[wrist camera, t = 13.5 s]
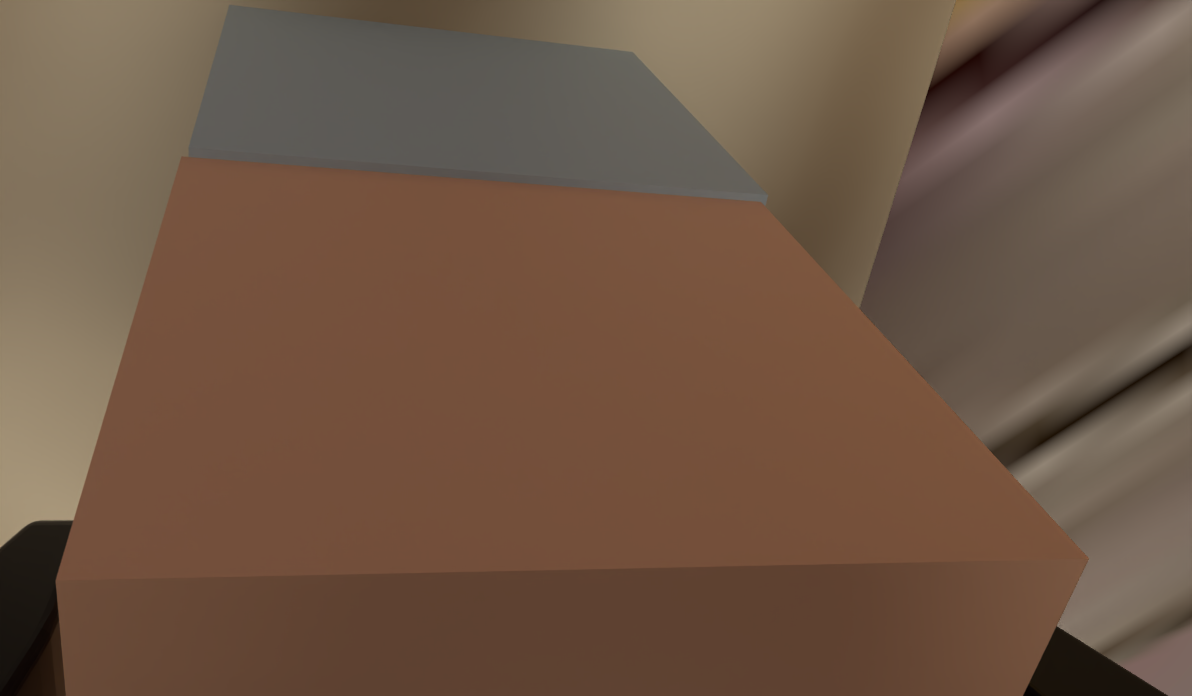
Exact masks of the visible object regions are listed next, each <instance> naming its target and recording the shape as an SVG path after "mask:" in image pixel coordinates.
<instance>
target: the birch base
mask: <svg viewBox="0 0 1192 696" xmlns="http://www.w3.org/2000/svg"><path fill="white" fill-rule="evenodd" d="M955 2H956V0H0V547H1V546H2V545H4V544H5V543H6V542H7V541H8V540H9V539H11V538H12V537H13V536H14V535H15V534H16V533H18V532H19V531H20V530H21V529H22V528H23V527H25V526H26V525H28V524H30V523H32V522H34V521H40V520H74V517H75V513H76V510H77V507H78V503H79V500H80V497H81V493H82V490H83V486H84V483H85V480H86V476H87V473H88V470H89V466H90V463H91V460H92V456H93V453H94V449H95V446H96V443H97V439H98V436H99V433H100V429H101V426H102V422H103V419H104V416H105V412H106V409H107V406H108V402H109V399H110V395H111V392H112V389H113V385H114V382H115V379H116V375H117V372H118V368H119V365H120V362H121V358H122V355H123V352H124V348H125V345H126V341H127V338H128V335H129V331H130V328H131V325H132V321H133V318H134V315H135V311H136V308H137V304H138V301H139V298H140V294H141V291H142V288H143V284H144V281H145V277H146V274H147V271H148V267H149V264H150V261H151V257H152V254H153V250H154V247H155V244H156V240H157V237H158V234H159V230H160V227H161V223H162V220H163V217H164V213H165V210H166V207H167V203H168V200H169V196H170V193H171V190H172V186H173V183H174V180H175V176H176V173H177V170H178V166H179V163H180V159H181V156H183V157H189V150H188V147H189V144H190V140H191V137H192V133H193V130H194V126H195V123H196V119H197V116H198V113H199V109H200V106H201V102H202V99H203V95H204V92H205V88H206V85H207V81H208V78H209V74H210V71H211V67H212V64H213V60H214V57H215V53H216V50H217V46H218V43H219V39H220V36H221V32H222V29H223V25H224V22H225V18H226V15H227V11H228V8H229V5H235V6H244V7H252V8H261V9H269V10H278V11H287V12H295V13H304V14H312V15H321V16H329V17H338V18H346V19H355V20H364V21H372V22H381V23H389V24H398V25H406V26H415V27H423V28H432V29H441V30H449V31H458V32H466V33H475V34H483V35H492V36H500V37H509V38H518V39H526V40H535V41H543V42H552V43H560V44H569V45H577V46H586V47H595V48H603V49H612V50H620V51H629V52H633V53H634V54H635V55H636V56H637V57H638V58H639V59H640V60H641V61H642V62H643V63H644V64H645V66H646V67H647V68H648V69H649V70H650V71H651V72H652V73H653V74H654V75H655V76H656V77H657V78H658V79H659V80H660V81H661V82H662V83H663V85H664V86H665V87H666V88H667V89H668V90H669V91H670V92H671V93H672V94H673V95H674V96H675V97H676V98H677V99H678V100H679V101H680V102H681V104H682V105H683V106H684V107H685V108H686V109H687V110H688V111H689V112H690V113H691V114H692V115H693V116H694V117H695V118H696V119H697V120H698V121H699V123H700V124H701V125H702V126H703V127H704V128H705V129H706V130H707V131H708V132H709V133H710V134H711V135H712V136H713V137H714V138H715V139H716V140H717V142H718V143H719V144H720V145H721V146H722V147H723V148H724V149H725V150H726V151H727V152H728V153H729V154H730V155H731V156H732V157H733V158H734V160H735V161H736V162H737V163H738V164H739V165H740V166H741V167H742V168H743V169H744V170H745V171H746V172H747V173H748V174H749V175H750V176H751V177H752V179H753V180H754V181H755V182H756V183H757V184H758V185H759V186H760V187H761V188H762V189H763V190H764V191H765V192H766V193H767V194H768V198H767V201H766V205H765V207H766V208H767V209H768V210H769V211H770V212H771V213H772V214H773V215H774V217H775V218H776V219H777V220H778V221H779V222H780V223H781V224H782V225H783V226H784V227H785V229H786V230H787V231H788V232H789V233H790V234H791V235H792V236H793V237H794V238H795V239H796V240H797V242H798V243H799V244H800V245H801V246H802V247H803V248H804V249H805V250H806V251H807V252H808V254H809V255H810V256H811V257H812V258H813V259H814V260H815V261H816V262H817V263H818V264H819V266H820V267H821V268H822V269H823V270H824V271H825V272H826V273H827V274H828V275H829V276H830V277H831V279H832V280H833V281H834V282H835V283H836V284H837V285H838V286H839V287H840V288H841V289H842V291H843V292H844V293H845V294H846V295H847V296H848V297H849V298H850V299H851V300H852V301H853V303H854V304H855V305H856V306H857V307H858V308H860V305H861V302H862V299H863V296H864V292H865V289H866V286H867V283H868V280H869V276H870V273H871V270H872V267H873V264H874V260H875V257H876V254H877V251H878V248H879V245H880V241H881V238H882V235H883V232H884V229H885V225H886V222H887V219H888V216H889V213H890V209H891V206H892V203H893V200H894V197H895V194H896V190H897V187H898V184H899V181H900V178H901V174H902V171H903V168H904V165H905V162H906V158H907V155H908V152H909V149H910V146H911V142H912V139H913V136H914V133H915V130H916V127H917V123H918V120H919V117H920V114H921V111H922V107H923V104H924V101H925V98H926V95H927V91H928V88H929V85H930V82H931V79H932V76H933V72H934V69H935V66H936V63H937V60H938V56H939V53H940V50H941V47H942V44H943V40H944V37H945V34H946V31H947V28H948V24H949V21H950V18H951V15H952V12H953V9H954V5H955Z"/></svg>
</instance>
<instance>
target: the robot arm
mask: <svg viewBox="0 0 1192 696" xmlns="http://www.w3.org/2000/svg"><path fill="white" fill-rule="evenodd" d="M72 524H73V520H40V521H34V522H32V523H30V524H28V525H26V526H25V527H23V528H22V529H21V530H20V531H19V532H18V533H16V534H15V535H14V536H13V537H12V538H11V539H9V540H8V541H7V542H6V543H5V544H4V545H2V546H1V547H0V696H66V691H65V680H64V669H63V658H62V647H61V635H60V624H59V613H58V602H57V590H56V578H57V574H58V571H59V567H60V564H61V561H62V557H63V554H64V551H65V547H66V544H67V540H68V537H69V534H70V530H71V527H72ZM1023 696H1168V695H1166V694H1164V693H1163V692H1161V691H1160V690H1158V689H1156V688H1155V687H1153V686H1151V685H1150V684H1148V683H1147V682H1145V681H1144V680H1142V679H1140V678H1139V677H1137V676H1136V675H1134V674H1132V673H1131V672H1129V671H1128V670H1126V669H1124V668H1123V667H1121V666H1120V665H1118V664H1116V663H1115V662H1113V661H1112V660H1110V659H1108V658H1107V657H1105V656H1104V655H1102V654H1100V653H1099V652H1097V651H1096V650H1094V649H1092V648H1091V647H1089V646H1088V645H1086V644H1084V643H1083V642H1081V641H1080V640H1078V639H1076V638H1075V637H1073V636H1072V635H1070V634H1068V633H1067V632H1065V631H1064V630H1062V629H1060V628H1059V627H1057V626H1056V628H1055V630H1054V632H1053V634H1052V636H1051V639H1050V641H1049V643H1048V645H1047V647H1046V649H1045V651H1044V653H1043V655H1042V657H1041V659H1040V661H1039V663H1038V665H1037V668H1036V670H1035V672H1034V674H1033V676H1032V678H1031V680H1030V682H1029V684H1028V686H1027V688H1026V690H1025V692H1024V694H1023Z"/></svg>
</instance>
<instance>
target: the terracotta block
mask: <svg viewBox="0 0 1192 696" xmlns="http://www.w3.org/2000/svg"><path fill="white" fill-rule="evenodd" d="M1088 560H1089V558H1088V557H1087V556H1086V555H1085V554H1084V553H1083V552H1082V551H1081V550H1080V548H1079V547H1078V546H1077V545H1076V544H1075V543H1074V542H1073V541H1072V540H1071V539H1070V538H1069V536H1068V535H1067V534H1066V533H1065V532H1064V531H1063V530H1062V529H1061V528H1060V527H1059V526H1058V524H1057V523H1056V522H1055V521H1054V520H1053V519H1052V518H1051V517H1050V516H1049V515H1048V514H1047V513H1046V511H1045V510H1044V509H1043V508H1042V507H1041V506H1040V505H1039V504H1038V503H1037V502H1036V501H1035V499H1034V498H1033V497H1032V496H1031V495H1030V494H1029V493H1028V492H1027V491H1026V490H1025V489H1024V487H1023V486H1022V485H1021V484H1020V483H1019V482H1018V481H1017V480H1016V479H1015V478H1014V477H1013V476H1012V474H1011V473H1010V472H1009V471H1008V470H1007V469H1006V468H1005V467H1004V466H1003V465H1002V464H1001V462H1000V461H999V460H998V459H997V458H996V457H995V456H994V455H993V454H992V453H991V452H990V450H989V449H988V448H987V447H986V446H985V445H984V444H983V443H982V442H981V441H980V440H979V439H978V437H977V436H976V435H975V434H974V433H973V432H972V431H971V430H970V429H969V428H968V427H967V425H966V424H965V423H964V422H963V421H962V420H961V419H960V418H959V417H958V416H957V415H956V413H955V412H954V411H953V410H952V409H951V408H950V407H949V406H948V405H947V404H946V403H945V402H944V400H943V399H942V398H941V397H940V396H939V395H938V394H937V393H936V392H935V391H934V390H933V388H932V387H931V386H930V385H929V384H928V383H927V382H926V381H925V380H924V379H923V378H922V376H921V375H920V374H919V373H918V372H917V371H916V370H915V369H914V368H913V367H912V366H911V365H910V363H909V362H908V361H907V360H906V359H905V358H904V357H903V356H902V355H901V354H900V353H899V351H898V350H897V349H896V348H895V347H894V346H893V345H892V344H891V343H890V342H889V341H888V340H887V338H886V337H885V336H884V335H883V334H882V333H881V332H880V331H879V330H878V329H877V328H876V326H875V325H874V324H873V323H872V322H871V321H870V320H869V319H868V318H867V317H866V316H865V314H864V313H863V312H862V311H861V310H860V309H859V308H858V307H857V306H856V305H855V304H854V303H853V301H852V300H851V299H850V298H849V297H848V296H847V295H846V294H845V293H844V292H843V291H842V289H841V288H840V287H839V286H838V285H837V284H836V283H835V282H834V281H833V280H832V279H831V277H830V276H829V275H828V274H827V273H826V272H825V271H824V270H823V269H822V268H821V267H820V266H819V264H818V263H817V262H816V261H815V260H814V259H813V258H812V257H811V256H810V255H809V254H808V252H807V251H806V250H805V249H804V248H803V247H802V246H801V245H800V244H799V243H798V242H797V240H796V239H795V238H794V237H793V236H792V235H791V234H790V233H789V232H788V231H787V230H786V229H785V227H784V226H783V225H782V224H781V223H780V222H779V221H778V220H777V219H776V218H775V217H774V215H773V214H772V213H771V212H770V211H769V210H768V209H767V208H766V207H765V206H764V205H763V203H762V202H757V201H744V200H732V199H719V198H706V197H693V196H680V195H668V194H655V193H642V192H629V191H617V190H604V189H591V188H578V187H566V186H553V185H540V184H527V183H515V182H502V181H489V180H476V179H463V178H451V177H438V176H425V175H412V174H400V173H387V172H374V171H361V170H349V169H336V168H323V167H310V166H298V165H285V164H272V163H259V162H246V161H234V160H221V159H208V158H195V157H183V156H181V159H180V163H179V166H178V170H177V173H176V176H175V180H174V183H173V186H172V190H171V193H170V196H169V200H168V203H167V207H166V210H165V213H164V217H163V220H162V223H161V227H160V230H159V234H158V237H157V240H156V244H155V247H154V250H153V254H152V257H151V261H150V264H149V267H148V271H147V274H146V277H145V281H144V284H143V288H142V291H141V294H140V298H139V301H138V304H137V308H136V311H135V315H134V318H133V321H132V325H131V328H130V331H129V335H128V338H127V341H126V345H125V348H124V352H123V355H122V358H121V362H120V365H119V368H118V372H117V375H116V379H115V382H114V385H113V389H112V392H111V395H110V399H109V402H108V406H107V409H106V412H105V416H104V419H103V422H102V426H101V429H100V433H99V436H98V439H97V443H96V446H95V449H94V453H93V456H92V460H91V463H90V466H89V470H88V473H87V476H86V480H85V483H84V486H83V490H82V493H81V497H80V500H79V503H78V507H77V510H76V513H75V517H74V520H73V524H72V527H71V530H70V534H69V537H68V540H67V544H66V547H65V551H64V554H63V557H62V561H61V564H60V567H59V571H58V574H57V578H56V590H57V602H58V613H59V624H60V635H61V647H62V658H63V669H64V680H65V691H66V696H1023V694H1024V692H1025V690H1026V688H1027V686H1028V684H1029V682H1030V680H1031V678H1032V676H1033V674H1034V672H1035V670H1036V668H1037V665H1038V663H1039V661H1040V659H1041V657H1042V655H1043V653H1044V651H1045V649H1046V647H1047V645H1048V643H1049V641H1050V639H1051V636H1052V634H1053V632H1054V630H1055V628H1056V626H1057V624H1058V622H1059V620H1060V618H1061V616H1062V614H1063V612H1064V610H1065V607H1066V605H1067V603H1068V601H1069V599H1070V597H1071V595H1072V593H1073V591H1074V589H1075V587H1076V585H1077V583H1078V581H1079V578H1080V576H1081V574H1082V572H1083V570H1084V568H1085V566H1086V564H1087V562H1088Z"/></svg>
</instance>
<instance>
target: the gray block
mask: <svg viewBox="0 0 1192 696" xmlns="http://www.w3.org/2000/svg"><path fill="white" fill-rule="evenodd" d="M188 150H189V157H195V158H208V159H221V160H234V161H246V162H259V163H272V164H285V165H298V166H310V167H323V168H336V169H349V170H361V171H374V172H387V173H400V174H412V175H425V176H438V177H451V178H463V179H476V180H489V181H502V182H515V183H527V184H540V185H553V186H566V187H578V188H591V189H604V190H617V191H629V192H642V193H655V194H668V195H680V196H693V197H706V198H719V199H732V200H744V201H757V202H762V203H763V205H764V206H765V205H766V201H767V198H768V194H767V193H766V192H765V191H764V190H763V189H762V188H761V187H760V186H759V185H758V184H757V183H756V182H755V181H754V180H753V179H752V177H751V176H750V175H749V174H748V173H747V172H746V171H745V170H744V169H743V168H742V167H741V166H740V165H739V164H738V163H737V162H736V161H735V160H734V158H733V157H732V156H731V155H730V154H729V153H728V152H727V151H726V150H725V149H724V148H723V147H722V146H721V145H720V144H719V143H718V142H717V140H716V139H715V138H714V137H713V136H712V135H711V134H710V133H709V132H708V131H707V130H706V129H705V128H704V127H703V126H702V125H701V124H700V123H699V121H698V120H697V119H696V118H695V117H694V116H693V115H692V114H691V113H690V112H689V111H688V110H687V109H686V108H685V107H684V106H683V105H682V104H681V102H680V101H679V100H678V99H677V98H676V97H675V96H674V95H673V94H672V93H671V92H670V91H669V90H668V89H667V88H666V87H665V86H664V85H663V83H662V82H661V81H660V80H659V79H658V78H657V77H656V76H655V75H654V74H653V73H652V72H651V71H650V70H649V69H648V68H647V67H646V66H645V64H644V63H643V62H642V61H641V60H640V59H639V58H638V57H637V56H636V55H635V54H634V53H633V52H629V51H620V50H612V49H603V48H595V47H586V46H577V45H569V44H560V43H552V42H543V41H535V40H526V39H518V38H509V37H500V36H492V35H483V34H475V33H466V32H458V31H449V30H441V29H432V28H423V27H415V26H406V25H398V24H389V23H381V22H372V21H364V20H355V19H346V18H338V17H329V16H321V15H312V14H304V13H295V12H287V11H278V10H269V9H261V8H252V7H244V6H235V5H229V8H228V11H227V15H226V18H225V22H224V25H223V29H222V32H221V36H220V39H219V43H218V46H217V50H216V53H215V57H214V60H213V64H212V67H211V71H210V74H209V78H208V81H207V85H206V88H205V92H204V95H203V99H202V102H201V106H200V109H199V113H198V116H197V119H196V123H195V126H194V130H193V133H192V137H191V140H190V144H189V147H188Z"/></svg>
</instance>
